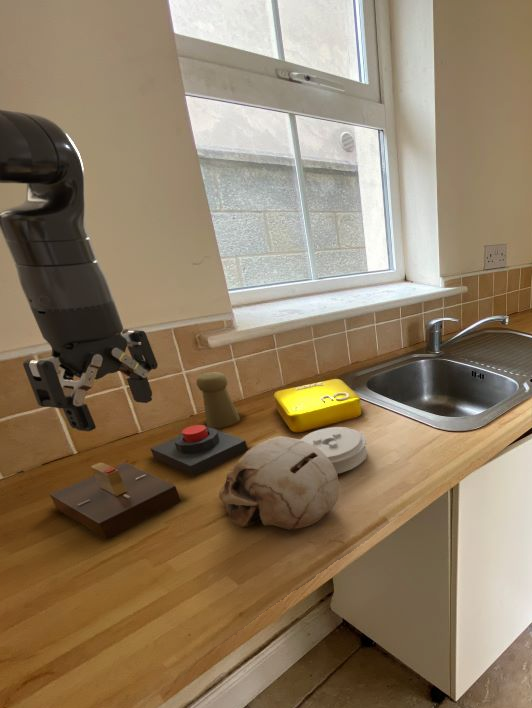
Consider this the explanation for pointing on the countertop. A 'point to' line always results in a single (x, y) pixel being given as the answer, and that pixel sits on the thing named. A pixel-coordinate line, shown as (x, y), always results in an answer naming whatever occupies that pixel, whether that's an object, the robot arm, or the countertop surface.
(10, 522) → the countertop surface
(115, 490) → the lock knob
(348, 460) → the lid
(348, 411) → the element tile
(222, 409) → the cork
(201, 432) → the bell button
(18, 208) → the robot arm
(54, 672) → the countertop surface
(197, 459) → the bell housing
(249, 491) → the coin bank
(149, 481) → the plate
